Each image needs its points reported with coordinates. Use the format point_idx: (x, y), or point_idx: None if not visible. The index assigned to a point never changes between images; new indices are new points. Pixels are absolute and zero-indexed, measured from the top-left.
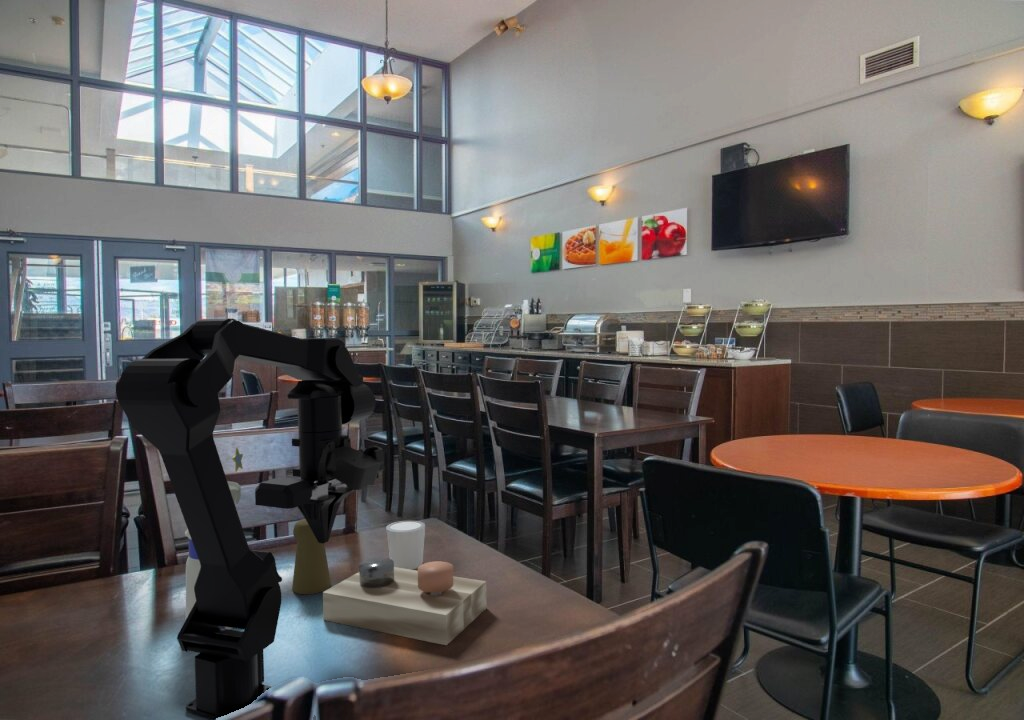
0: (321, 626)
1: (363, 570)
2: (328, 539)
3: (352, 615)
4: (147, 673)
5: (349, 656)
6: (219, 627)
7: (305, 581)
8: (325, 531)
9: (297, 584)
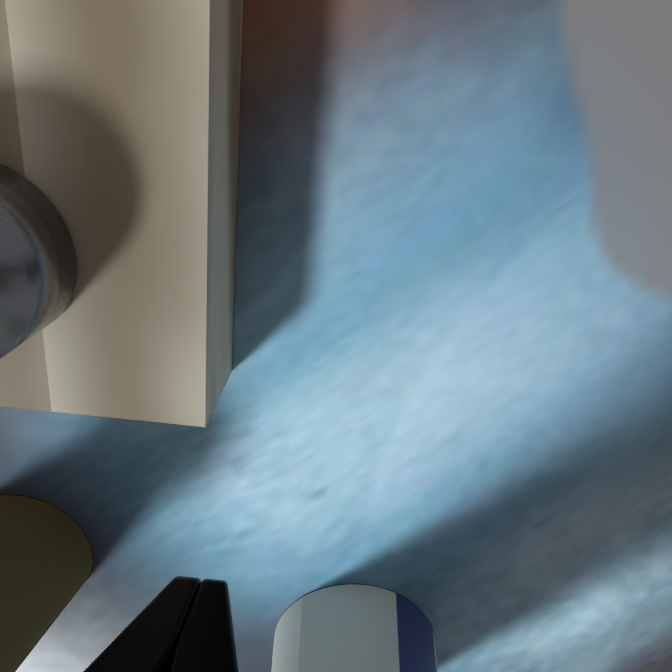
0: (276, 350)
1: (31, 308)
2: (171, 586)
3: (227, 248)
4: (646, 616)
5: (461, 109)
6: (408, 614)
7: (59, 570)
8: (208, 667)
9: (75, 584)
